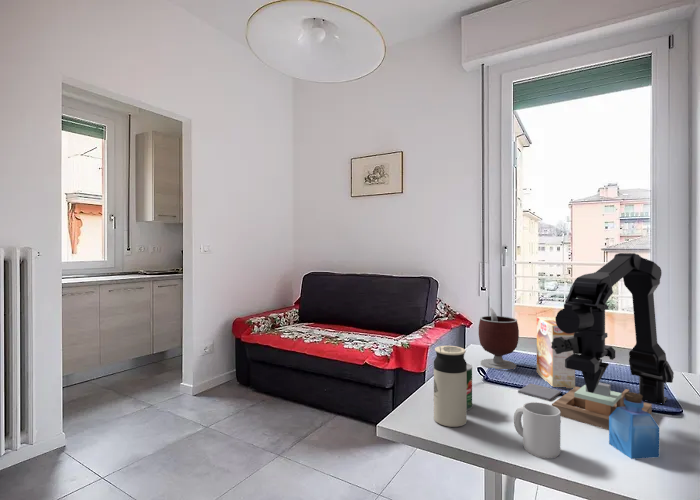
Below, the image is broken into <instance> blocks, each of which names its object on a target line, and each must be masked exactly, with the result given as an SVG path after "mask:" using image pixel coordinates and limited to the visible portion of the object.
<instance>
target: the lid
mask: <svg viewBox="0 0 700 500" xmlns="http://www.w3.org/2000/svg"><path fill="white" fill-rule="evenodd" d="M574 397H578V398H582V399H586V400H590V401H594V402H598V403H602V404H606V405H610V406H614V405H615V403H616V402H617V401H618V400H619V399H620V398H621V397H622V392H617V391H614V390H611V384H608V383H605V382H604V383H603V382H600V381H599V383H598V385H597V387H596V389H595V391H594V392H593V393H590V392H588V390H587V386H586V384H584V385H582V386H581V388H580V389H579V390H577V391H576V392H575V393H574Z"/></svg>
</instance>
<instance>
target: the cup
mask: <svg viewBox="0 0 700 500" xmlns="http://www.w3.org/2000/svg"><path fill="white" fill-rule="evenodd" d="M513 426H514V429H515V431H516V432H517V434H518V435H519V436H520V437H521V438H522V446H523V448H524V450H525V451H526V452H528V454H530V455H532V456H535V457H538V458H540V459H555V458H558V456H559V455H560V454H561V416H560V410H559V409H558V408H556V407H554V406H552V404H548V403H543V402H537V401H531V402H530V401H529V402H526V403H524V404H523V405H522V406H518V407H517V408H516V409H515V411H514V415H513Z"/></svg>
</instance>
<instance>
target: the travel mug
mask: <svg viewBox="0 0 700 500" xmlns="http://www.w3.org/2000/svg"><path fill="white" fill-rule="evenodd" d="M434 351H435V353H436V356H435V358H434V360H433V420H434V421H435V422H436V423H437V424H440V425H442V426H445V427H448V428H450V427H451V428H457V427H462V426H464V425H465V424H467V416H468V415H467V411H468V410H467V364H468V363H467V361H466V359H465V354H466V349H465V348H463V347H460V346H456V345H440V346H439V345H438V346H436V347H435V348H434Z"/></svg>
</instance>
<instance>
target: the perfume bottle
mask: <svg viewBox="0 0 700 500" xmlns="http://www.w3.org/2000/svg"><path fill="white" fill-rule="evenodd" d="M625 397H626V398H624V404H625V407H617V408H616V409H615V410H614V411H613V413H612V414H611V415H610V416H609V430H608V440H609V441H608V445H610V446H612V448H615V449H616V450H617V451H619V452H620V453H622V454H623V455H624V456H627V458H629V459H631V460H634V459H638V460H639V459H654V458H655V459H656V458H657V459H658V458H660V426H659V425H658V423H657V422H656V421H655V419H654V418H653V415H652V414H651V415H650V414H649V413H647V412H645V411H643V410H642V408H643V407H644V402H645V401H644V400H642V397H643V396H642V395H640V394H638V393H637V392H631V391H629V392H626V393H625Z"/></svg>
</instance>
